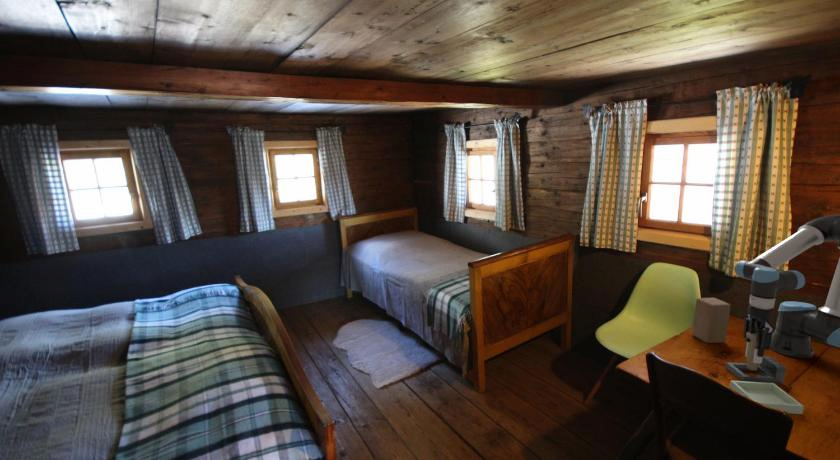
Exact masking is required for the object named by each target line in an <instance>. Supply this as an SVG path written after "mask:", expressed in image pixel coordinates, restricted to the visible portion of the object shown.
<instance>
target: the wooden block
mask: <svg viewBox="0 0 840 460" xmlns="http://www.w3.org/2000/svg"><path fill="white" fill-rule="evenodd" d="M695 300H696V301H695V309H694V316H693V323H692V331H691V335H692V336H693V337H695V338H697V339H699V340H700V341H702V342H704V343H706V344H721V343H722V344H723V343H725V342H726V340H727V334H728V333H727V332H728V326H729V319H730V313H731V307H732V305H731V303H728V302H726V301H723V300H722V299H718V298H716V297H700V298H698V297H697V298H696V299H695Z"/></svg>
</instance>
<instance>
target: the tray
mask: <svg viewBox="0 0 840 460" xmlns="http://www.w3.org/2000/svg"><path fill="white" fill-rule="evenodd" d="M730 388H731V389H732V391H733V390H734V391H736V392H738V393H740V394H741V395H743V396H746V397H748V398H749V399H751V400H753V401H755V402H758V403H760V404H762V405H764V406H767V407H770V408H774V409H779V410H782V411H785V412H787V413H786V414H794V415H803V412H804V407H805V406H804V405H803V404H801V403H800V402H799V401H798V400H796V399H795V398H794V397H793V396H791V395H789V394H788V393H787V392H786V391H785V390H783V389H782V388H781V387H779V385H777V384H774V383H763V382H748V381H741V380H730V381H729V389H730ZM731 389H730V390H731ZM734 391H733V392H734Z"/></svg>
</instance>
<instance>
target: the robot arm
mask: <svg viewBox="0 0 840 460" xmlns="http://www.w3.org/2000/svg"><path fill="white" fill-rule="evenodd" d="M825 242H836V243H838V244H837V248H838V249H839V250H840V214H831V215H825V216H821V217H818V218H815V219H813V220H809V221H808V222H806V223H805V224H803V225H800V227H798V229H797V232H795V233H793V234H792V235H790V236H788V237H787V238H785V239H784V240H782V241H780V242H779V243H778V244H776V245H774V246H773V247H771V248H769V249H767V250H766V251H765V252H763V253H761V254H760V255H758V256H757V257H755V258H753V259H752V260H751V261H749V260H739V261H738V262H737V263H736V264H735V266H734V269H733V270H734V273H735V275H736V276H738V277H740V278H743V279H744V280H749V281H751V288H750V292H749V302H748V303H749V304H748V306H747V314H744V317H743V318H744V325H743V332H742V333H743V334H742V335H743V338H744V339H745V341H746V346H745V355H744V356H745V358H747V354H748V350H749V346H750V339H749V338H748V337H747V336H746V333H747V332H750V333H757V347H755V351H754V358H753V363H759V364H760V363H762V358H763V356H765V355H764V353H765V351H770V350H772V351H775V352H776V353H779V354H781V355H784V356H787V357H791V358H796V359H797V358H798V359H811V358H813V355H814V349H813V345H812V341H811V338H813V339H816V340H818V341H821V342H824V343H826V344H828V345H830V346H834V347H837V348H840V257H839V259H838V262H837V265H836V269H835V272H834V275H833V278H832V281H831V284H830V287H829V291H828V294H827V298H826V300H825V303H824V305H823V306H821V307H818V309H817V306H816V305H815V304H811V303H807V302H801V301H790V300H789V301H783V302H781V303H780V304H779V308H778V309H777V317H776V325H775V327H771V325H770V319H771V318H773V316H774V308H775V304H776V295H777V292H781V291H783V292H785V291H794V290H798V289H801V288H803V287H804V286H805V285H806V277H805V275H803V273H801V272H800V271H797V270H790V269H787V270H783V269H780V267H781V266H782V265H784V264H785V263H787V262H789V261H790V260H792V259H794V258H795V257H797V256H799V255H800V254H802V253H803V252H806V250H809V249H810V248H812V247H813V246H818V245H822V244H823V243H825Z"/></svg>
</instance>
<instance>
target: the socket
mask: <svg viewBox="0 0 840 460" xmlns="http://www.w3.org/2000/svg"><path fill="white" fill-rule="evenodd" d="M725 369H727V370H728V371H729V372H730V373H731V374H732V375H734V376H735V377H736V378H737V379H738V380H739V381H748V382H763V383H774V384H775V385H777V384H781V385H783V384H784V382H785V375H786V371H787V367H786V366H785V365H783V364H782V363H780V362H778V361H777V360H775V359H774V358H773V357H771V356H770V355H763V358H762V363H759V365H758V367H757V370H756V371H755V370H750V369H748V368H747V362H729V361H727V362H726V361H725ZM743 371H747V372H749V371H751V372H756V373H757V374H758V375H754V374H753V375H752V374H746V373H744V372H743Z"/></svg>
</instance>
